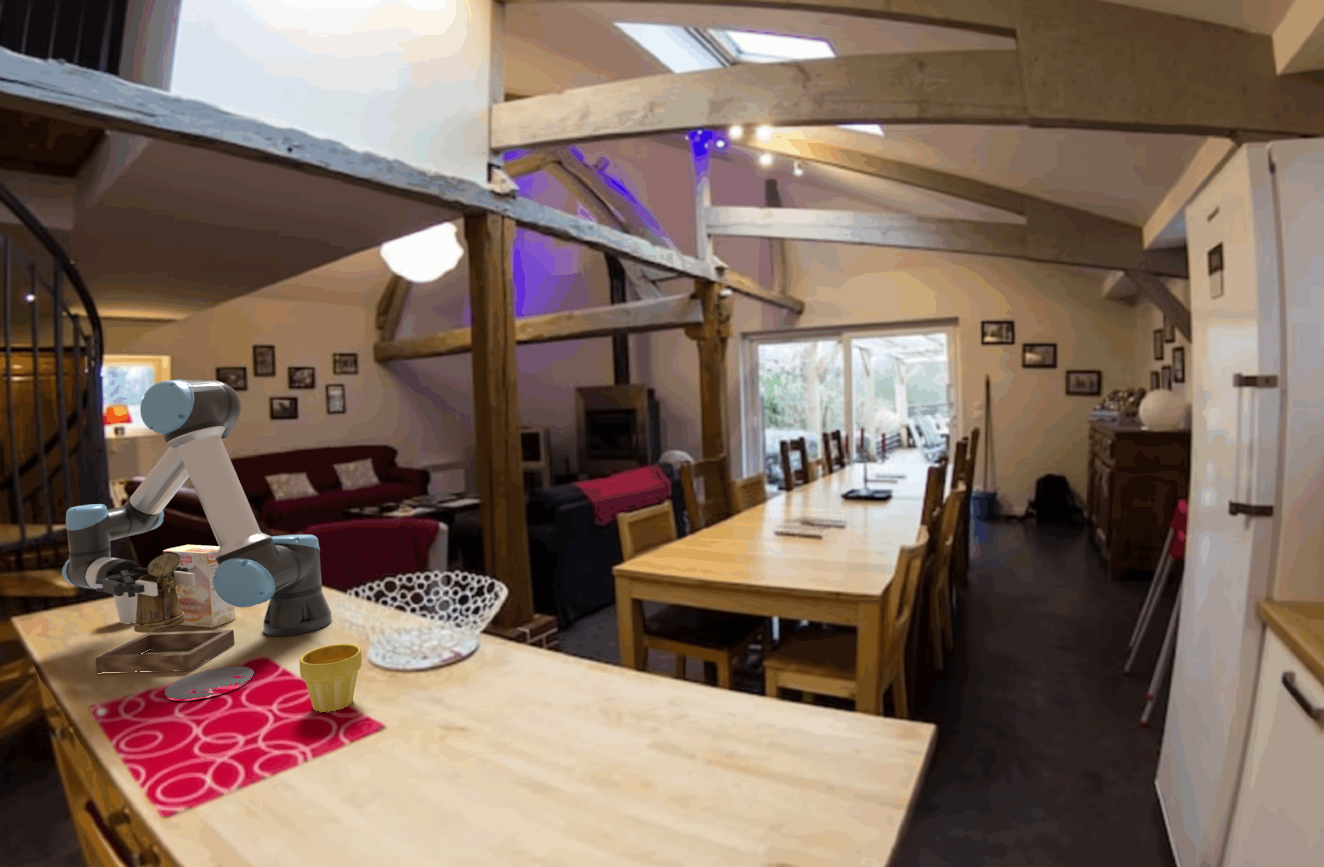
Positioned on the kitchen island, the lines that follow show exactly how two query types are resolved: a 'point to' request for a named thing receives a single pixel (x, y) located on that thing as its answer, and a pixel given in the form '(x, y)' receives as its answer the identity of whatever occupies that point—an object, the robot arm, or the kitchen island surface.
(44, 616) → the kitchen island surface
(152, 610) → the wooden mug
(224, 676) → the grey mat
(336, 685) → the plant pot
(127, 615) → the dixie cup
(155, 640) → the frame
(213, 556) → the coffeecake box
